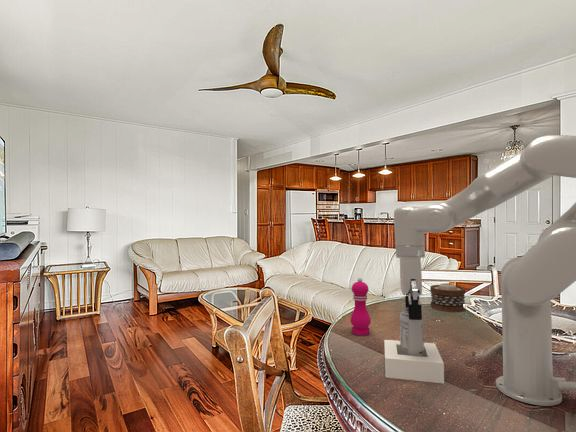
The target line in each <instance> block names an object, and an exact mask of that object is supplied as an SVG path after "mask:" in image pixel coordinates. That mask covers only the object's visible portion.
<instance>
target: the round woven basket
mask: <svg viewBox="0 0 576 432" xmlns="http://www.w3.org/2000/svg"><path fill="white" fill-rule="evenodd" d="M465 294H466V288H465V287H463V286H460V285H456V284H453V283H440V284H433V285H431V286H430V297H431V298H430V299H431V301H430V308H431V309H433V310H435V311H439V312H444V313H463V312H465V311H466V310H465V309H464V308H463V304H465V305H466V295H465Z"/></svg>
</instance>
